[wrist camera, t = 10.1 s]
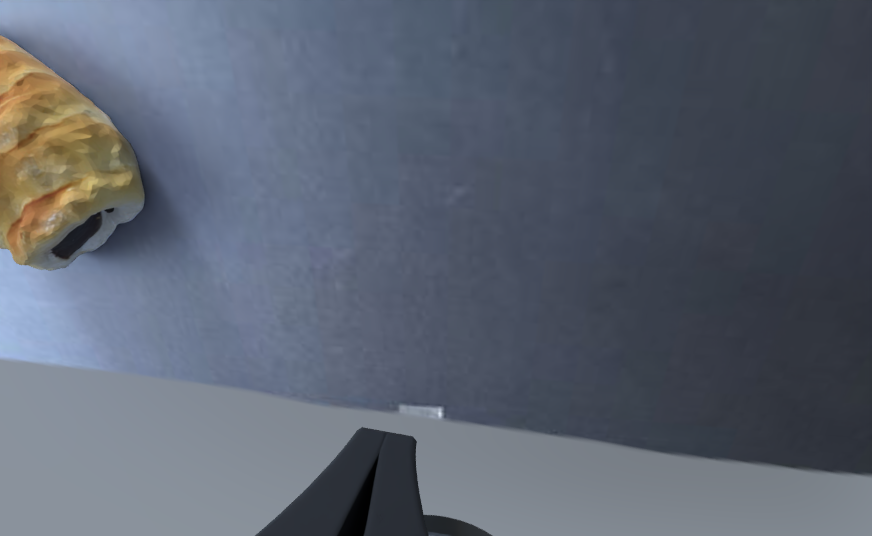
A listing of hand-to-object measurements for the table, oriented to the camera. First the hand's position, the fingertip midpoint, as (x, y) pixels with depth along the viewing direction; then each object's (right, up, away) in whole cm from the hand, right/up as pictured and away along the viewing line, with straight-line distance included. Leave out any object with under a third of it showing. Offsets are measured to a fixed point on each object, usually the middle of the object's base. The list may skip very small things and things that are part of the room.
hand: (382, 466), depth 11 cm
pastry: (-15, +9, +8) cm, 19 cm away
